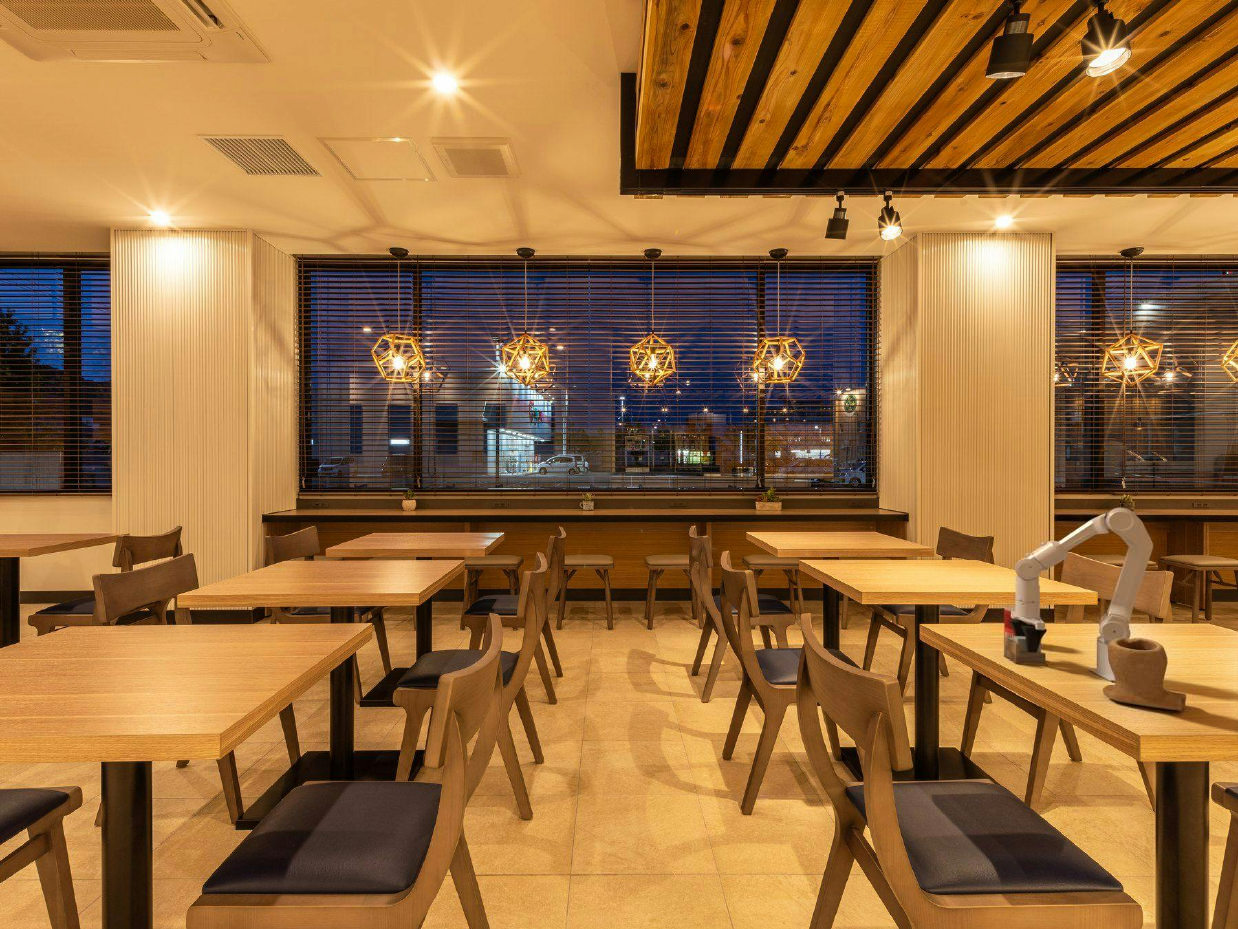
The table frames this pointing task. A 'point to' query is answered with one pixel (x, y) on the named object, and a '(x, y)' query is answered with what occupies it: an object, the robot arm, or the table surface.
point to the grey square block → (1024, 644)
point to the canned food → (1007, 626)
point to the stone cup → (1140, 674)
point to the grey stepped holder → (1022, 654)
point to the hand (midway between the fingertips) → (1027, 648)
